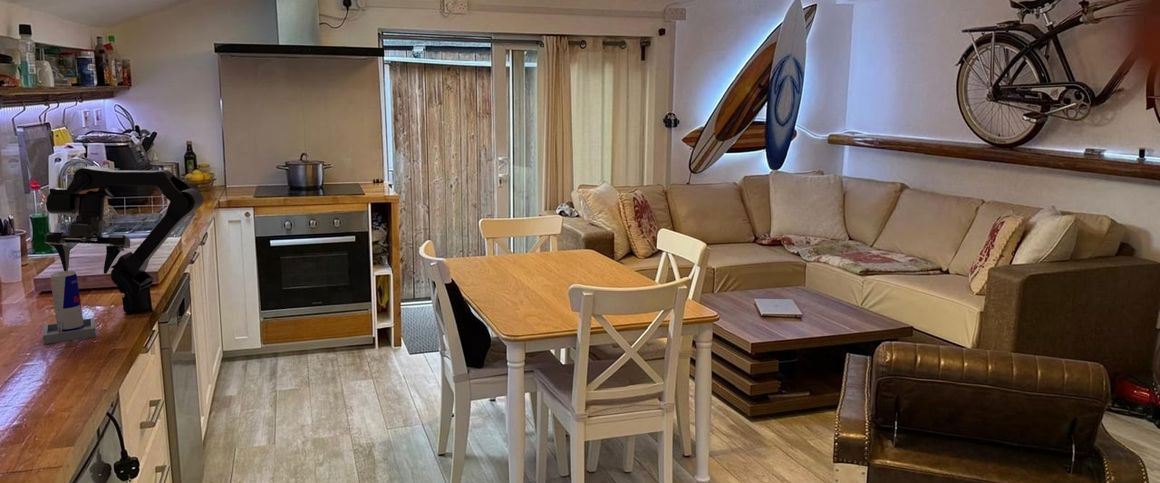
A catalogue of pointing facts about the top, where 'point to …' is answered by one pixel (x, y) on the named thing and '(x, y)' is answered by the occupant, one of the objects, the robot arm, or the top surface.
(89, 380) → the top surface
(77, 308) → the beverage can
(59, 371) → the top surface
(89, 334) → the tray
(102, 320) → the top surface
